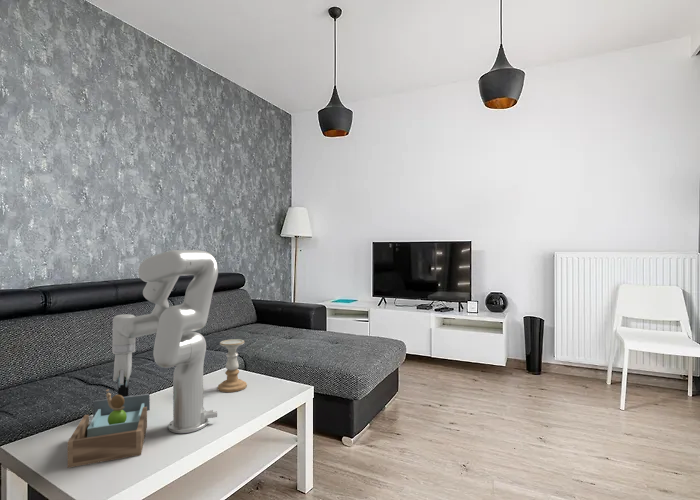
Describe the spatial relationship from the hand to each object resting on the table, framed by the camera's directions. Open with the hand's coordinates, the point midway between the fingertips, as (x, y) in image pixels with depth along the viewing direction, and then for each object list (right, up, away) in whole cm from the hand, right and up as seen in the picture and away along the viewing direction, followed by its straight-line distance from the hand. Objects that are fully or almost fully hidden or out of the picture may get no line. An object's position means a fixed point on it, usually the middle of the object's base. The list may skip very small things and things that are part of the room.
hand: (123, 396), depth 150 cm
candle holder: (+33, -6, +25) cm, 42 cm away
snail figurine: (+8, -3, -18) cm, 20 cm away
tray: (+6, -4, -14) cm, 15 cm away
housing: (+11, -5, -27) cm, 29 cm away
